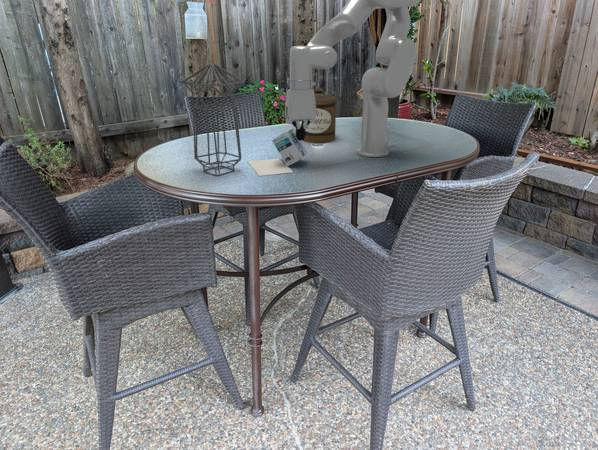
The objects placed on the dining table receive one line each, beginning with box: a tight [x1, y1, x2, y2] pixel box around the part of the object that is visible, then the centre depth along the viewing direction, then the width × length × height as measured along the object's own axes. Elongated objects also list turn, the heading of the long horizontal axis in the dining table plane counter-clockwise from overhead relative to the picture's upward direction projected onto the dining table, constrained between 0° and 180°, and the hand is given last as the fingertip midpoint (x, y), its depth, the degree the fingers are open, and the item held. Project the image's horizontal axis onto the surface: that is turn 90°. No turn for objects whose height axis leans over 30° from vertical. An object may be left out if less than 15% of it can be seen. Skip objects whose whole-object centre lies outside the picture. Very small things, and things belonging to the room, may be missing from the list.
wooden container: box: [303, 87, 337, 144], centre depth 186 cm, size 15×15×22 cm
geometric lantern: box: [181, 63, 246, 177], centre depth 141 cm, size 16×16×35 cm
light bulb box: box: [271, 126, 309, 167], centre depth 153 cm, size 11×7×11 cm, turn 168°
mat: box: [247, 158, 294, 177], centre depth 152 cm, size 12×18×1 cm, turn 19°
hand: (300, 139), depth 152 cm, fingers closed
